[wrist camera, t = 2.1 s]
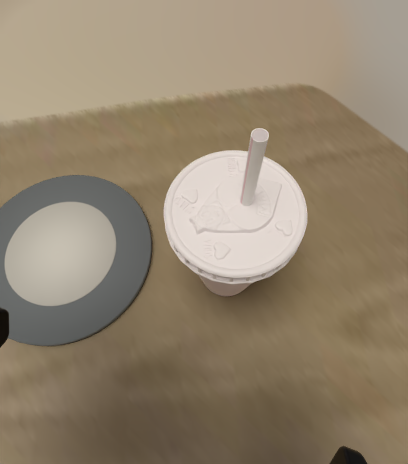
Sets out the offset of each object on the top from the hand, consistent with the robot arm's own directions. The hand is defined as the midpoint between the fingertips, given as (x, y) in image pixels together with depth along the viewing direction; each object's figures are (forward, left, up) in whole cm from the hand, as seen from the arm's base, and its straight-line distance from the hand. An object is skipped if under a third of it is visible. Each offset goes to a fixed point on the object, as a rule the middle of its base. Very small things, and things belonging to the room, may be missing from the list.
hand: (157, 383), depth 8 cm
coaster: (+12, +2, -13) cm, 18 cm away
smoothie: (+4, -6, -13) cm, 15 cm away
